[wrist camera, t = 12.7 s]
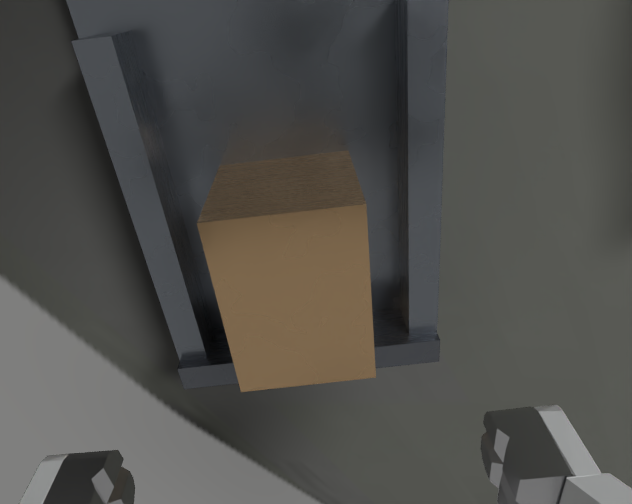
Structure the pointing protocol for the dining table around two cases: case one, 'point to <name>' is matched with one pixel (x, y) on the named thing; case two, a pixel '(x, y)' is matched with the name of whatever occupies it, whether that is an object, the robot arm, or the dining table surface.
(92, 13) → the tray
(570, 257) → the dining table surface
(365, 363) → the cardboard shipping carton
